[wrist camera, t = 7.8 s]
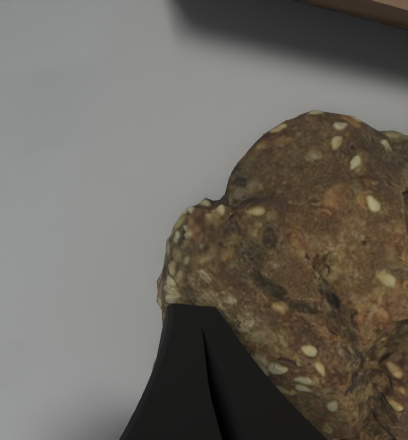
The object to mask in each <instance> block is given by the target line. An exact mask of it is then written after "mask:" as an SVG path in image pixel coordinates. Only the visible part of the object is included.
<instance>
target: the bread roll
mask: <svg viewBox="0 0 408 440" xmlns="http://www.w3.org/2000/svg"><path fill="white" fill-rule="evenodd" d="M157 287H158V295H157V303H158V305H159V306H160V308H161V309H162V322H163V323H164V318H165V313H166V308H167V306H168V305H170V304H171V303H177V304H188V305H198V306H209V307H216V308H217V309H218V311H219V312H220V314H221V315H222V316H223V318H224V319H225V321H226V322H227V323H228V325H229V326H230V328H231V329H232V331H233V332H234V333H235V335H236V336H237V338H238V339H239V340H240V342H241V343H242V344H243V346H244V347H245V348H246V350H247V351H248V353H249V354H250V355H251V356H252V358H253V359H254V360H255V362H256V363H257V364H258V365H259V367H260V368H261V369H262V370H263V372H264V373H265V374H266V375H267V377H268V378H269V379H270V380H271V381H272V382H273V384H274V385H275V386H276V387H277V388H278V389H279V390H280V392H281V393H282V394H283V395H284V396H285V397H286V398H287V399H288V401H289V402H290V403H291V404H292V405H293V406H294V407H295V408H296V409H297V410H298V411H299V412H300V413H301V414H302V415H303V416H304V417H305V418H306V419H307V420H308V421H309V422H310V423H311V424H312V425H313V426H314V427H315V428H316V429H317V430H318V431H319V432H320V433H321V434H322V435H323V436H324V437H325V438H327V439H328V440H408V136H406V135H404V134H402V133H399V132H396V131H377V130H375V129H374V128H372V127H370V126H369V125H367V124H365V123H364V122H362V121H360V120H359V119H357V118H355V117H354V116H348V115H341V114H335V113H328V112H321V111H315V110H314V111H311V112H308V113H304V114H302V115H299V116H298V117H296V118H293V119H290V120H286V121H285V122H283V123H281V124H280V125H278V126H277V127H275V128H273V129H272V130H270V131H269V132H267V133H266V134H264V135H263V136H262V137H261V138H260V139H259V140H258V141H257V142H256V143H255V144H254V145H253V146H252V147H251V148H250V149H249V150H248V152H247V153H246V154H245V155H244V156H243V157H242V158H241V160H240V161H239V162H238V163H237V165H236V166H235V168H234V169H233V171H232V173H231V176H230V177H229V180H228V184H227V188H226V192H225V195H224V196H223V197H222V198H221V199H220V200H216V201H212V200H210V199H207V198H205V199H204V200H203V201H202V202H200V203H199V204H198V205H196V206H192V207H188V208H187V209H186V210H185V211H184V212H183V214H182V215H181V217H180V218H179V219H178V221H177V222H176V224H175V225H174V227H173V229H172V234H171V236H170V237H169V238H168V239H167V242H166V254H165V260H164V267H163V270H162V273H161V275H160V277H159V278H158V280H157ZM156 359H157V358H156ZM155 364H156V360H155V363H154V366H155ZM154 366H153V369H154ZM152 371H153V370H152Z"/></svg>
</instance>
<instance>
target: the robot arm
mask: <svg viewBox="0 0 408 440" xmlns="http://www.w3.org/2000/svg"><path fill="white" fill-rule="evenodd" d="M119 440H328V439H327V438H325V437H324V436H323V435H322V434H321V433H320V432H319V431H318V430H317V429H316V428H315V427H314V426H313V425H312V424H311V423H310V422H309V421H308V420H307V419H306V418H305V417H304V416H303V415H302V414H301V413H300V412H299V411H298V410H297V409H296V408H295V407H294V406H293V405H292V404H291V403H290V402H289V401H288V399H287V398H286V397H285V396H284V395H283V394H282V393H281V392H280V390H279V389H278V388H277V387H276V386H275V385H274V384H273V382H272V381H271V380H270V379H269V378H268V377H267V375H266V374H265V373H264V372H263V370H262V369H261V368H260V367H259V365H258V364H257V363H256V362H255V360H254V359H253V358H252V356H251V355H250V354H249V353H248V351H247V350H246V348H245V347H244V346H243V344H242V343H241V342H240V340H239V339H238V338H237V336H236V335H235V333H234V332H233V331H232V329H231V328H230V326H229V325H228V323H227V322H226V321H225V319H224V318H223V316H222V315H221V314H220V312H219V311H218V309H217V308H216V307H209V306H198V305H188V304H177V303H171V304H170V305H168V306H167V308H166V313H165V318H164V323H163V328H162V334H161V339H160V344H159V349H158V354H157V359H156V364H155V366H154V369H153V371H152V374H151V376H150V379H149V381H148V384H147V386H146V388H145V390H144V393H143V395H142V397H141V399H140V401H139V403H138V405H137V407H136V409H135V411H134V413H133V415H132V417H131V419H130V421H129V423H128V425H127V427H126V429H125V430H124V432H123V434H122V436H121V438H120V439H119Z"/></svg>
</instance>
